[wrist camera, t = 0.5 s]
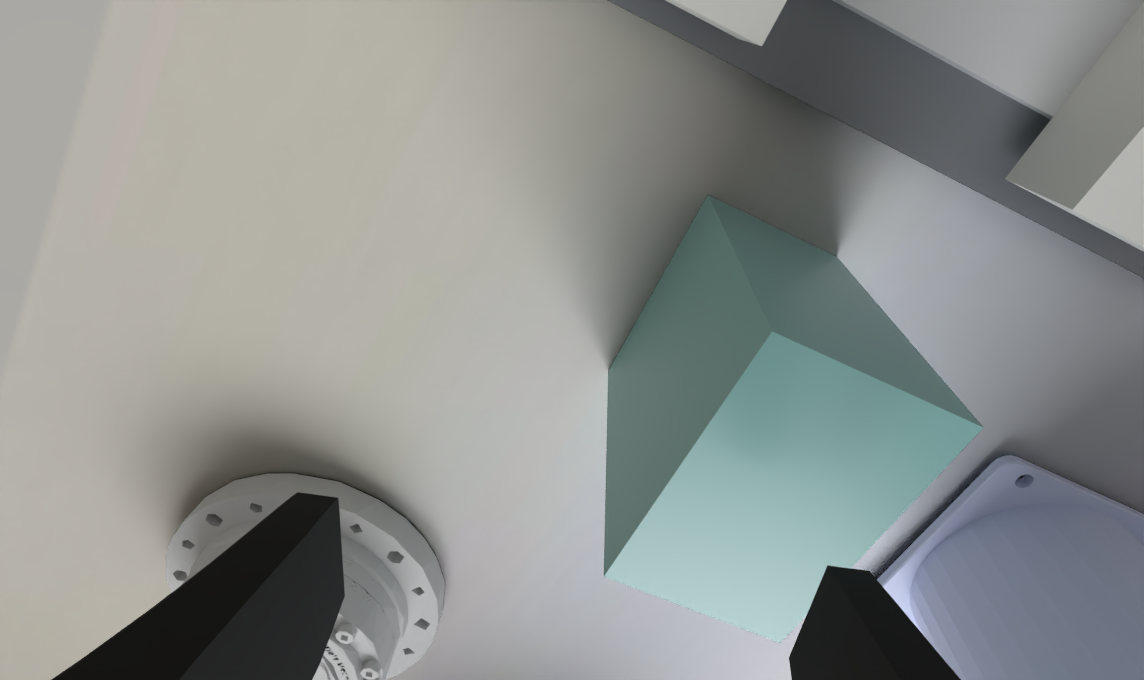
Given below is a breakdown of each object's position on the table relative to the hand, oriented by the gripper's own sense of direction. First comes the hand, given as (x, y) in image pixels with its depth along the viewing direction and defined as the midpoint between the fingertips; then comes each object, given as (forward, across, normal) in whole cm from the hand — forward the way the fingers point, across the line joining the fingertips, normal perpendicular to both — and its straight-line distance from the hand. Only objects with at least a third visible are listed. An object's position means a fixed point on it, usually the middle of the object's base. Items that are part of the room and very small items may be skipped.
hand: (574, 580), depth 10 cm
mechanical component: (+11, +9, +13) cm, 19 cm away
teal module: (+10, -4, 0) cm, 11 cm away
